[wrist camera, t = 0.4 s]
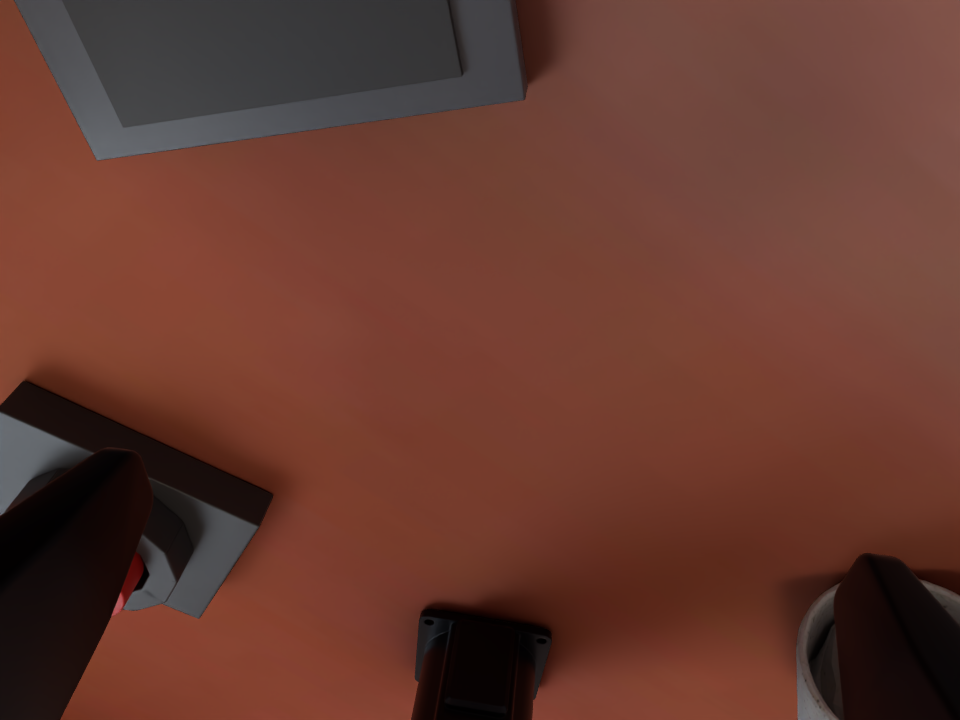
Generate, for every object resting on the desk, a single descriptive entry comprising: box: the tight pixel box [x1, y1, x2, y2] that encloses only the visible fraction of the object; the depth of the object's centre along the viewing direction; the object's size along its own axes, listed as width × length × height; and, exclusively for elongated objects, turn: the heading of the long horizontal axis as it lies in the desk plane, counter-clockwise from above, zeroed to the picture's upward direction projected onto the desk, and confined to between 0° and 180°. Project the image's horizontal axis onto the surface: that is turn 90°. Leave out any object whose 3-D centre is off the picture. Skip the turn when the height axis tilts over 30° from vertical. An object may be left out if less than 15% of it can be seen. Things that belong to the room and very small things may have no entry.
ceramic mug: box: [796, 580, 960, 720], centre depth 30 cm, size 11×8×8 cm
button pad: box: [0, 381, 273, 619], centre depth 33 cm, size 11×9×4 cm
